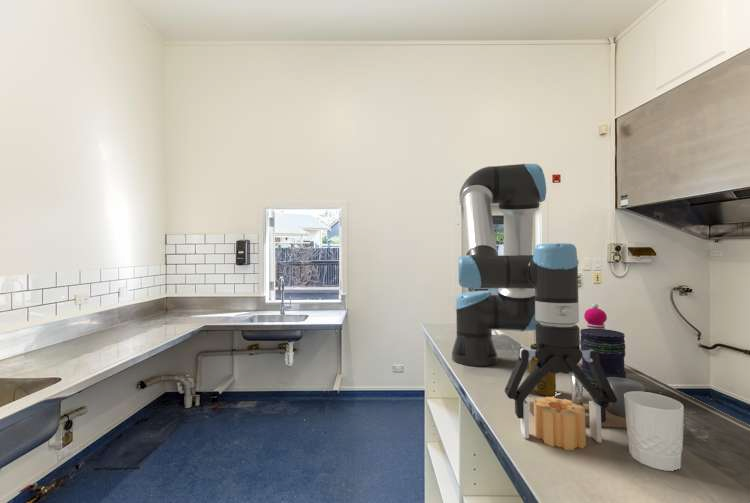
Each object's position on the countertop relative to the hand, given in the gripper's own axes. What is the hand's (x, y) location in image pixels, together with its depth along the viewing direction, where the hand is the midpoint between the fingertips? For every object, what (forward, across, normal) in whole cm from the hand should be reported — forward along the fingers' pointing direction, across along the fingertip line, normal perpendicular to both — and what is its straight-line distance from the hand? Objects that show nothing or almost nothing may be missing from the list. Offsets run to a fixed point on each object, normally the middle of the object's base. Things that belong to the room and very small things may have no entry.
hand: (559, 436), depth 65 cm
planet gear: (0, 0, 0) cm, 0 cm away
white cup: (0, +13, -6) cm, 14 cm away
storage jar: (0, +21, +27) cm, 34 cm away
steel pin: (-2, +7, +9) cm, 11 cm away
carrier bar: (0, +9, +9) cm, 12 cm away
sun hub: (-2, +16, +9) cm, 18 cm away
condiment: (0, +4, +23) cm, 23 cm away
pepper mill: (0, +29, +47) cm, 55 cm away
